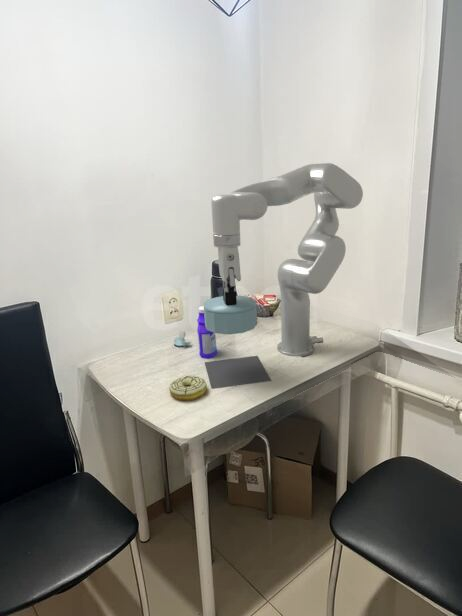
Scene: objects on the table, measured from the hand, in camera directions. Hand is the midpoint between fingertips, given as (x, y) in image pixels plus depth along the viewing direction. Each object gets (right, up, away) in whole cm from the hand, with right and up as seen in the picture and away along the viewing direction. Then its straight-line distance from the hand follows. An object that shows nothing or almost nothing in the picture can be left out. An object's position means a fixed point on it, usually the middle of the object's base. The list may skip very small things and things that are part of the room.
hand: (229, 302), depth 121 cm
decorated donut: (-12, -27, -2) cm, 29 cm away
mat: (+2, -22, +8) cm, 23 cm away
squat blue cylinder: (0, -7, +2) cm, 7 cm away
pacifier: (-18, -16, +30) cm, 38 cm away
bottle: (-8, -18, +21) cm, 29 cm away
